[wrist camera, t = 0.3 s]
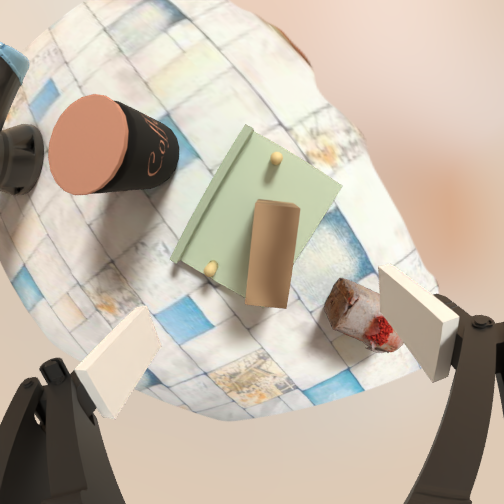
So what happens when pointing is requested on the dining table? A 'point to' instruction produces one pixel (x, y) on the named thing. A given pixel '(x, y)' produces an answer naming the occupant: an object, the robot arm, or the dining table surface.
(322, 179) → the ledge board
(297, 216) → the brown box-like piece
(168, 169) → the coffee jar
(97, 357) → the robot arm
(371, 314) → the food item
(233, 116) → the dining table surface
